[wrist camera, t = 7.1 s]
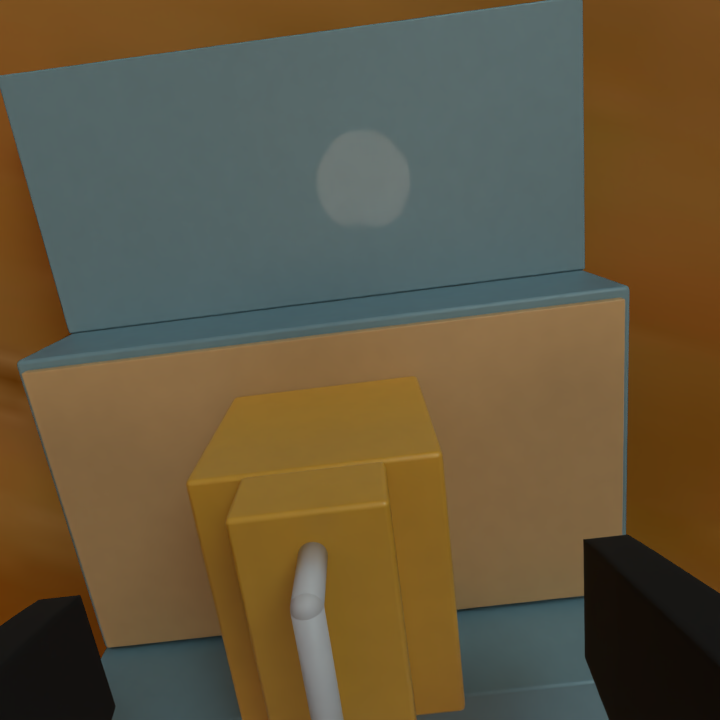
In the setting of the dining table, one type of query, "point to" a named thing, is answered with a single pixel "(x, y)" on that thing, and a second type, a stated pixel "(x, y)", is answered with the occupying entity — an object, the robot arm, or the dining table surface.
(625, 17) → the dining table surface
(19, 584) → the dining table surface
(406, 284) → the step rack
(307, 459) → the block with handle
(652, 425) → the dining table surface
